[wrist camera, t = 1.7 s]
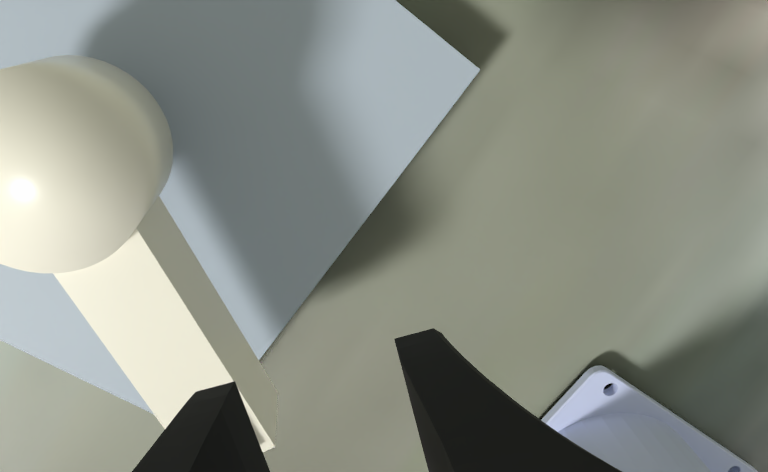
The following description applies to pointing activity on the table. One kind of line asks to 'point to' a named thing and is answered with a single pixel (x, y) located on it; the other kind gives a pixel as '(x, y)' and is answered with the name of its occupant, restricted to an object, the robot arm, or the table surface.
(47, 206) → the cream knobbed bar
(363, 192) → the board
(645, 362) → the table surface
